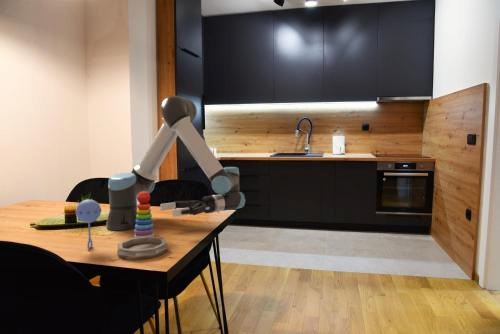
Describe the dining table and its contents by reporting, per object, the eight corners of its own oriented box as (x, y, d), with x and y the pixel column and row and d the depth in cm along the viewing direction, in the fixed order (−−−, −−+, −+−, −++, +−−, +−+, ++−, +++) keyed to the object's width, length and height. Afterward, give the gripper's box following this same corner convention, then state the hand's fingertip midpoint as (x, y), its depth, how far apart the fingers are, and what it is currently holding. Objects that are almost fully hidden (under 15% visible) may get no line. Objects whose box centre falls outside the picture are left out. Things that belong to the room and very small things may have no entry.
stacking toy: (149, 241, 143) (147, 193, 141) (130, 240, 145) (128, 193, 143) (158, 235, 151) (156, 190, 149) (140, 234, 152) (138, 189, 150)
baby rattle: (82, 244, 140) (80, 197, 138) (106, 243, 141) (103, 197, 139) (73, 252, 131) (70, 202, 130) (98, 251, 132) (96, 201, 130)
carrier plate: (106, 256, 126) (106, 248, 126) (138, 242, 142) (138, 234, 142) (147, 262, 120) (147, 253, 120) (176, 246, 136) (176, 238, 136)
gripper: (226, 217, 154) (178, 225, 142) (200, 207, 174) (156, 213, 163) (226, 199, 153) (178, 206, 141) (199, 191, 174) (155, 196, 162)
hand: (166, 210), depth 152 cm, fingers open, 13 cm apart
